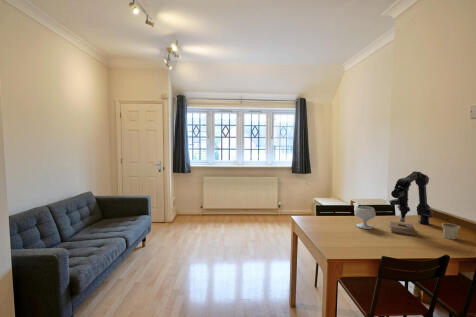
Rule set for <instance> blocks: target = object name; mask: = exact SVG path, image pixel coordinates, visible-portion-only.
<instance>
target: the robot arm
mask: <svg viewBox="0 0 476 317" xmlns="http://www.w3.org/2000/svg"><path fill="white" fill-rule="evenodd" d="M414 181H415V184H416V185H417V187H418V188H417V189H418V201H419V204H418V205H417V206H416V214H417V215H418V216H419V220H418V223H419V224H420V225H426V226H431V223H430V218H433V216H434V214H433V212H432V210H431V206H430V205H429V204H428V197H427V185H428V184H429V182H430V177H429V176H428V175H426V174H424V173H423V172H421V171H412V172H411V173H410V174H408V175H407V176H406V177H401V178H399V179H397V181H396V183H395V185H394V188H393V190H392V191H391V193H390V195H391V197H392V198H394V199H390V200H388V202H389V204H390V206H391V207H392V206H393V207H394V206H397V208H398V211H399V212H400V211H401V216H402V218H404V217H405V218H406V215H407V214H408V212H411V208H410V207H409V191H410V187H411V186H412V182H414Z"/></svg>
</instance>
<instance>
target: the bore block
mask: <svg viewBox="0 0 476 317" xmlns="http://www.w3.org/2000/svg"><path fill="white" fill-rule="evenodd" d="M389 228H390V232H391V233H392V234H394V233H395V234H398V233H399V235H407V236H414V237H416V231H417V230H416V229H415V227H414V225H413V224H412V223H406V222H400V221H399V222H397V221H392V220H391V221H389Z"/></svg>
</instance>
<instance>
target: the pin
mask: <svg viewBox="0 0 476 317" xmlns="http://www.w3.org/2000/svg"><path fill="white" fill-rule="evenodd" d="M399 223H406V216H405V217H404V218H402V216H401V211H400V210H399Z"/></svg>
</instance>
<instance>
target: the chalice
mask: <svg viewBox="0 0 476 317" xmlns="http://www.w3.org/2000/svg"><path fill="white" fill-rule="evenodd" d="M354 213H355V216H356V217H358V218H359V219H361V220H362V221H363V222H362V223H357V224H355V225H356V227H357V228H360V229H362V230H363V229H365V230H373V229H374V228H375V227H374V226H373V225H372V224H369V223H367V222H368V221H369V220H373V219H375V217H377V216H376V215H377V214H376V210H375V208H374V207H372V206H368V205H358V206H356V208H355V210H354Z"/></svg>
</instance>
